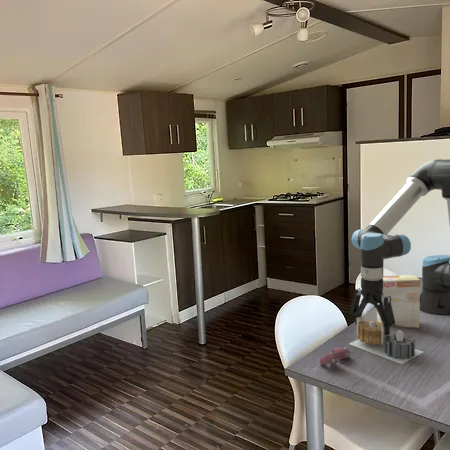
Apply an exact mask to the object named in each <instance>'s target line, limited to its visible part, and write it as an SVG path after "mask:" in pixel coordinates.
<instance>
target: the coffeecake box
mask: <svg viewBox="0 0 450 450" xmlns="http://www.w3.org/2000/svg"><path fill="white" fill-rule="evenodd" d="M382 279H383V291H382V292H383V295H384V296H387V297H388V296H391V306H392V310H393V315H394V319H395V324H394V325H393V326H398V327H401V328H404V329H405V328H420V322H421V321H420V317H421V316H420V315H421V313H420V311H421V310H420V294H421V279H419V278H418V277H417V275H415V274H406V275H405V274H403V275H402V274H400V275H398V274H397V275H383V278H382ZM382 302H383V299H382ZM378 304H379V303H378ZM383 307H384V302H383ZM384 309H385V308H384ZM376 321H379V323H382V320H381V318H380V316H379V313H378V311H377V310H376Z"/></svg>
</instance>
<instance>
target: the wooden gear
mask: <svg viewBox="0 0 450 450" xmlns="http://www.w3.org/2000/svg"><path fill="white" fill-rule="evenodd" d="M370 321H373V322H375V327H369V322H370ZM382 325H383V323H379V321H377V320H371V319H370V320H368V321H367V320H363V321H362V323H360V322H359V323H358V335H357V340H359V339H360V341H361V342H365V343H366V344H369V343H372V344H373V345H376V344H381V326H382Z"/></svg>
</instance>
